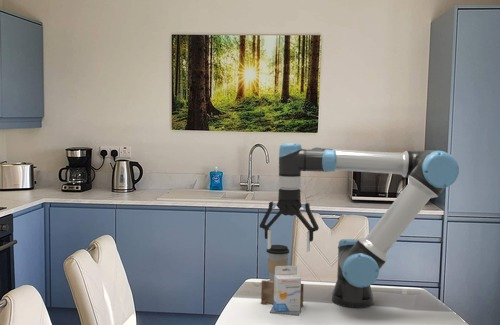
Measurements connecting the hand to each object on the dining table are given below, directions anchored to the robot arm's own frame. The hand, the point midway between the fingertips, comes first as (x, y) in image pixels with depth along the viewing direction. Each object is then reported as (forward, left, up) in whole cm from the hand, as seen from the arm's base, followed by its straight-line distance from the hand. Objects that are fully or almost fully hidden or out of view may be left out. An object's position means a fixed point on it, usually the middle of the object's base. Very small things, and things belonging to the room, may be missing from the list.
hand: (288, 249), depth 187 cm
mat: (0, 0, -22) cm, 22 cm away
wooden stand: (+3, -6, -22) cm, 22 cm away
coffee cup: (+9, -32, -22) cm, 40 cm away
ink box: (0, 0, -21) cm, 21 cm away
